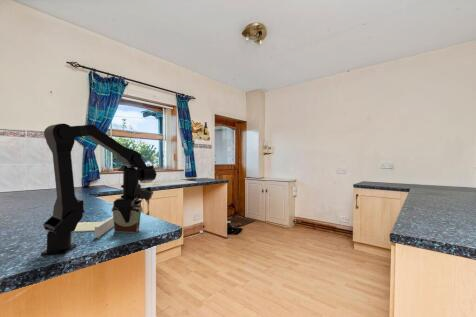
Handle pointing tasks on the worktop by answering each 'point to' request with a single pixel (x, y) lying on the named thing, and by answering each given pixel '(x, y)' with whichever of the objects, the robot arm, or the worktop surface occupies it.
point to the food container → (133, 221)
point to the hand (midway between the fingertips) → (130, 220)
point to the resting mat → (86, 226)
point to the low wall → (104, 227)
